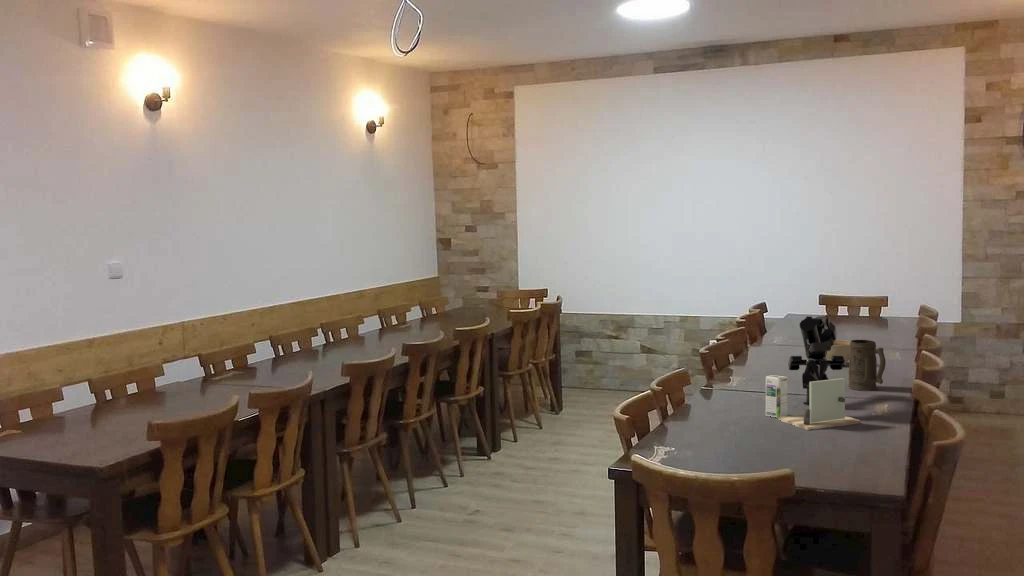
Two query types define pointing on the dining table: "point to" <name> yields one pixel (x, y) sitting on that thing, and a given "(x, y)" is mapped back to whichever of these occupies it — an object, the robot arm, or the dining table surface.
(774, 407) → the syrup box
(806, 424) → the door stand
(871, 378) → the beer stein
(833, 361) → the robot arm
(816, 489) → the dining table surface
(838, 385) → the door
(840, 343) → the planter bowl
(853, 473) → the dining table surface
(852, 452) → the dining table surface
